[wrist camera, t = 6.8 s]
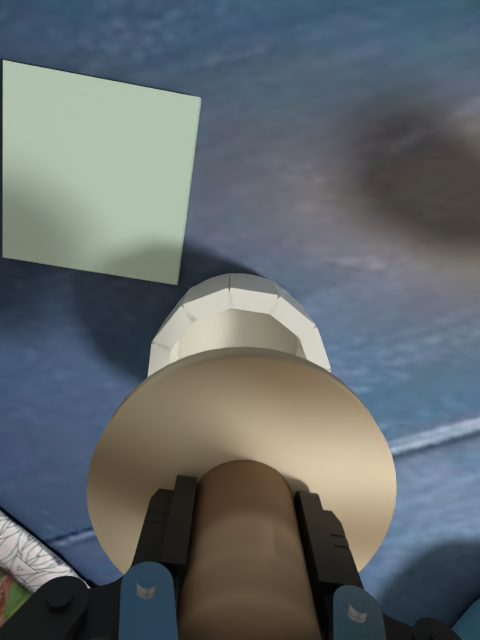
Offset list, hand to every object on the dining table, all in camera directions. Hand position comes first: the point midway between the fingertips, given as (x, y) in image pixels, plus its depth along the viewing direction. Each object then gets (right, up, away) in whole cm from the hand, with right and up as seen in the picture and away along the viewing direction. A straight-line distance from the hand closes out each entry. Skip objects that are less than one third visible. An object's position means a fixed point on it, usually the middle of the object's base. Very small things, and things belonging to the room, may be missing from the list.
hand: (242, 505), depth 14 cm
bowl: (0, +5, +16) cm, 17 cm away
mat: (-9, +16, +13) cm, 22 cm away
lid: (0, 0, +1) cm, 1 cm away
